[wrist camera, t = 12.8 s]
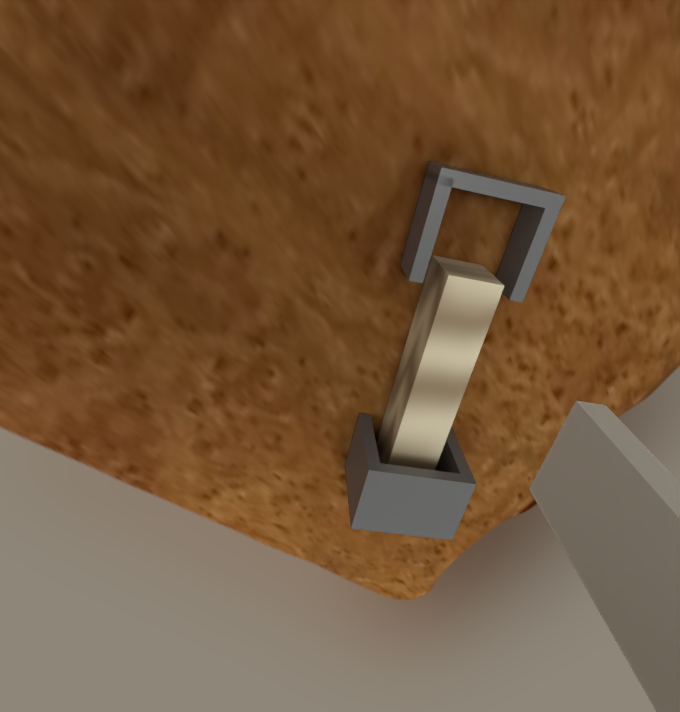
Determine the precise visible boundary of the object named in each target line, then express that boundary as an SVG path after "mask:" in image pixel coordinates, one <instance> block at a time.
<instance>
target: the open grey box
mask: <svg viewBox="0 0 680 712" xmlns="http://www.w3.org/2000/svg"><path fill="white" fill-rule="evenodd" d="M345 473H346V484H347V494H348V504H349V514H350V524H351V529H360V530H369V531H378V532H386V533H395V534H404V535H413V536H422V537H431V538H439V539H448V540H452V539H453V537H454V534H455V532H456V530H457V527H458V525H459V523H460V521H461V518H462V516H463V514H464V512H465V509H466V507H467V505H468V502H469V500H470V498H471V496H472V493H473V491H474V489H475V487H476V482H475V480H474V478H473V475H472V473H471V471H470V468H469V466H468V464H467V462H466V459H465V457H464V455H463V452H462V450H461V448H460V446H459V443H458V441H457V439H456V437H455V434H454V432H453V430H452V427H451V429H450V431H449V434H448V437H447V439H446V442H445V445H444V447H443V450H442V453H441V455H440V458H439V461H438V463H437V466H436V468H435V470H428V469H421V468H413V467H406V466H398V465H391V464H384V463H380V460H379V455H378V450H377V445H376V440H375V434H374V429H373V424H372V419H371V415H370V414H363V413H359V417H358V420H357V424H356V427H355V431H354V435H353V438H352V442H351V445H350V449H349V453H348V456H347V460H346V463H345Z"/></svg>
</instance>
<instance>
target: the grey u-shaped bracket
mask: <svg viewBox="0 0 680 712" xmlns="http://www.w3.org/2000/svg"><path fill="white" fill-rule="evenodd" d="M452 187H453V188H458V189H462V190H467V191H471V192H476V193H480V194H485V195H489V196H493V197H498V198H502V199H507V200H511V201H516V202H520V203H523V205H522V207H521V210H520V213H519V215H518V218H517V221H516V223H515V226H514V229H513V231H512V234H511V237H510V240H509V242H508V245H507V248H506V250H505V253H504V256H503V258H502V261H501V264H500V266H499V269H498V272H497V275H496V278H497V279H498V280H499V281H500V282H501V283H502V284H503V285H504V289H503V291H502V293H503V294H504V295H505V296H506V297H507V298H508V299H509V300H512V301H517V302H523V300H524V297H525V295H526V292H527V290H528V288H529V285H530V283H531V280H532V278H533V275H534V273H535V270H536V268H537V265H538V263H539V260H540V258H541V256H542V253H543V251H544V248H545V246H546V243H547V241H548V238H549V236H550V233H551V231H552V228H553V226H554V224H555V221H556V219H557V216H558V214H559V211H560V209H561V206H562V204H563V201H564V199H565V197H566V196H565V195H562V194H559V193H557V192H554V191H551V190H548V189H546V188H543V187H538V186H534V185H530V184H526V183H521V182H517V181H513V180H508V179H504V178H500V177H495V176H491V175H487V174H482V173H478V172H474V171H469V170H465V169H461V168H456V167H452V166H448V165H444V164H439V163H435V162H431V161H429V164H428V168H427V172H426V175H425V179H424V182H423V186H422V190H421V193H420V197H419V200H418V204H417V208H416V211H415V215H414V218H413V222H412V226H411V229H410V233H409V236H408V240H407V244H406V247H405V251H404V254H403V258H402V262H401V265H400V266H401V268H402V269H403V271H404V273H405V275H406V276H407V278H408V280H409V281H413V282H418V283H423V280H424V277H425V274H426V271H427V267H428V264H429V261H430V257H431V254H432V251H433V247H434V244H435V241H436V238H437V234H438V231H439V228H440V224H441V221H442V218H443V214H444V211H445V208H446V205H447V201H448V198H449V195H450V191H451V188H452Z"/></svg>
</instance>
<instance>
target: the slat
mask: <svg viewBox="0 0 680 712" xmlns="http://www.w3.org/2000/svg"><path fill="white" fill-rule="evenodd" d="M503 289H504V285H503V284H502V283H501V282H500V281H499V280H498V279H497V278H496V277H495V276H494V275H493V274H492V273H490V272H489V271H488V270H487V269H486V268H485V267H484V266H483V265H480V264H475V263H470V262H465V261H460V260H455V259H450V258H445V257H440V256H435V255H432V258H431V261H430V265H429V268H428V271H427V275H426V278H425V281H424V285H423V288H422V291H421V295H420V298H419V301H418V305H417V308H416V311H415V315H414V318H413V321H412V325H411V328H410V331H409V335H408V338H407V342H406V345H405V348H404V352H403V355H402V358H401V362H400V365H399V368H398V372H397V375H396V378H395V382H394V385H393V388H392V392H391V395H390V398H389V402H388V405H387V408H386V412H385V415H384V418H383V422H382V425H381V428H380V432H379V435H378V438H377V442H376V445H377V450H378V455H379V460H380V463H384V464H391V465H398V466H406V467H413V468H421V469H428V470H435V468H436V466H437V463H438V461H439V458H440V455H441V453H442V450H443V447H444V445H445V442H446V439H447V437H448V434H449V431H450V429H451V426H452V424H453V421H454V418H455V416H456V413H457V410H458V408H459V405H460V402H461V400H462V397H463V394H464V392H465V389H466V386H467V384H468V381H469V379H470V376H471V373H472V371H473V368H474V365H475V363H476V360H477V357H478V355H479V352H480V349H481V347H482V344H483V342H484V339H485V336H486V334H487V331H488V328H489V326H490V323H491V320H492V318H493V315H494V312H495V310H496V307H497V304H498V302H499V299H500V297H501V294H502V291H503Z"/></svg>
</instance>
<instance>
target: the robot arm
mask: <svg viewBox="0 0 680 712" xmlns="http://www.w3.org/2000/svg"><path fill="white" fill-rule="evenodd" d="M529 490H530V492H531V493H532V495H533V497H534V499H535V500H536V502H537V504H538V506H539V507H540V509H541V511H542V513H543V514H544V516H545V518H546V519H547V521H548V523H549V525H550V527H551V528H552V530H553V531H554V533H555V535H556V537H557V539H558V541H559V542H560V544H561V546H562V547H563V549H564V551H565V552H566V554H567V556H568V558H569V560H570V561H571V563H572V565H573V567H574V568H575V570H576V572H577V574H578V575H579V577H580V579H581V581H582V582H583V584H584V586H585V588H586V589H587V591H588V593H589V595H590V596H591V598H592V600H593V602H594V603H595V605H596V607H597V608H598V610H599V612H600V614H601V616H602V617H603V619H604V621H605V623H606V624H607V626H608V628H609V630H610V631H611V633H612V635H613V637H614V638H615V640H616V642H617V644H618V645H619V647H620V649H621V650H622V652H623V654H624V656H625V657H626V659H627V661H628V663H629V665H630V666H631V668H632V670H633V671H634V673H635V675H636V677H637V679H638V680H639V682H640V684H641V686H642V687H643V689H644V691H645V692H646V694H647V696H648V698H649V700H650V701H651V703H652V705H653V706H654V708H655V710H656V712H680V482H679V481H678V480H676V478H675V477H674V476H673V475H672V474H671V473H670V472H669V471H668V470H667V469H666V468H665V467H664V466H663V465H662V464H661V463H660V462H659V461H658V459H657V458H656V457H655V456H654V455H653V454H652V453H651V452H650V451H649V450H648V449H647V448H646V447H645V446H644V445H643V444H642V443H641V442H640V441H639V440H638V439H637V438H636V437H635V435H633V433H632V432H631V431H630V430H629V429H628V428H627V427H626V426H625V425H624V424H623V423H622V422H621V421H620V420H619V419H618V418H617V417H616V416H615V415H614V414H613V412H612V411H611V410H610V409H609V408H608V407H607V406H606V405H601V404H594V403H587V402H581V401H576V402H575V404H574V406H573V408H572V409H571V411H570V413H569V415H568V417H567V419H566V421H565V423H564V424H563V426H562V428H561V430H560V432H559V434H558V436H557V438H556V440H555V441H554V443H553V445H552V447H551V449H550V451H549V453H548V455H547V456H546V458H545V460H544V462H543V464H542V466H541V468H540V470H539V471H538V473H537V475H536V477H535V479H534V481H533V483H532V485H531V487H530V488H529Z"/></svg>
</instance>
